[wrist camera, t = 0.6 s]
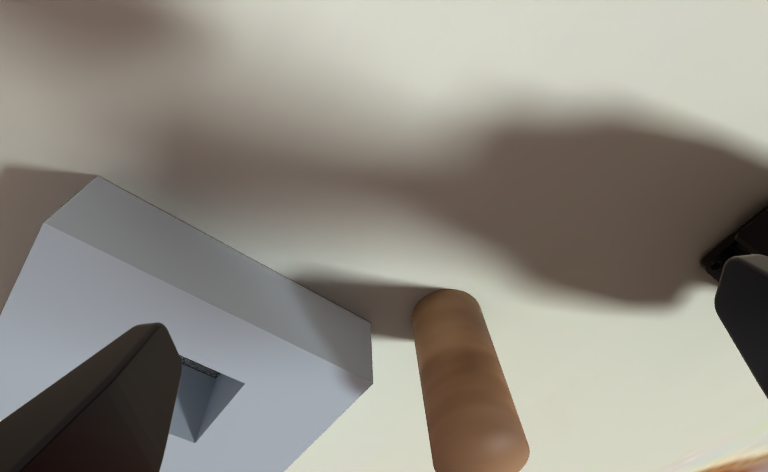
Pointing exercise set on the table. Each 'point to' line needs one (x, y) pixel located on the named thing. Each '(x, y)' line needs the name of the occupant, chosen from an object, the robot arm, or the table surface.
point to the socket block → (184, 331)
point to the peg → (465, 388)
